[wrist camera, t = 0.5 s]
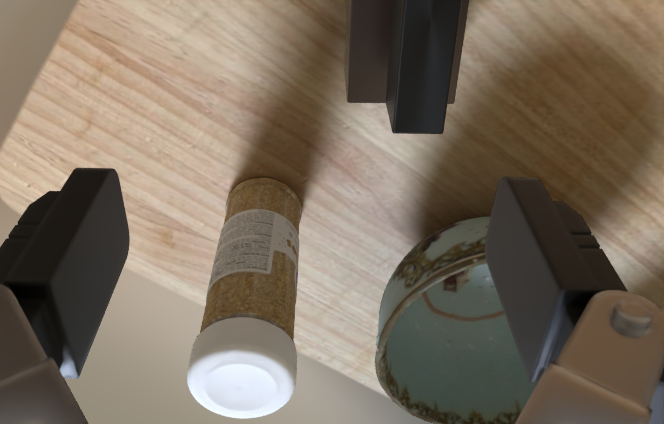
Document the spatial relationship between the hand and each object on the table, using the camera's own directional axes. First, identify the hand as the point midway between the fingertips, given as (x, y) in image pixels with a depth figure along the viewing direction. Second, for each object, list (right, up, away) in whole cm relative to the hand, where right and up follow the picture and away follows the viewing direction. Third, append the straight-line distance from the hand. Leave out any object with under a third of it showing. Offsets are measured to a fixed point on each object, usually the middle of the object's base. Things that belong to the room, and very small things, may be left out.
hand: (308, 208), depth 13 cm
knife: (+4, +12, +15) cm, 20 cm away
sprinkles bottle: (-4, 0, +23) cm, 24 cm away
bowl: (+9, -3, +26) cm, 28 cm away
